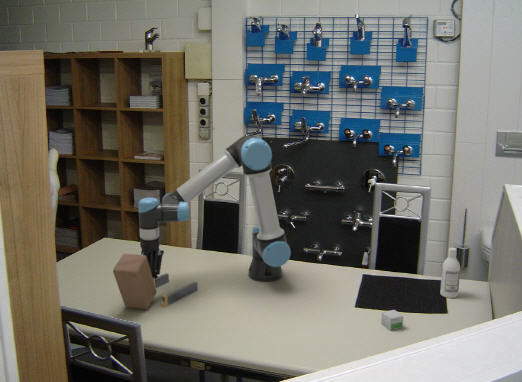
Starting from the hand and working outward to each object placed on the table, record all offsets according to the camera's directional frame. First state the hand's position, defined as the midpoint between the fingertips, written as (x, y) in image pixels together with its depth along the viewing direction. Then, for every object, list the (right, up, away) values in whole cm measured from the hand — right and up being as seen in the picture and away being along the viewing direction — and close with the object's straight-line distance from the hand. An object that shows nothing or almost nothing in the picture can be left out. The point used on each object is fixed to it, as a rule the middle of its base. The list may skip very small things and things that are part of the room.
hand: (152, 293), depth 219 cm
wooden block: (-3, -2, -5) cm, 6 cm away
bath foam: (+121, -2, +4) cm, 121 cm away
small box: (+91, -8, -22) cm, 94 cm away
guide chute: (+5, -1, +7) cm, 8 cm away
